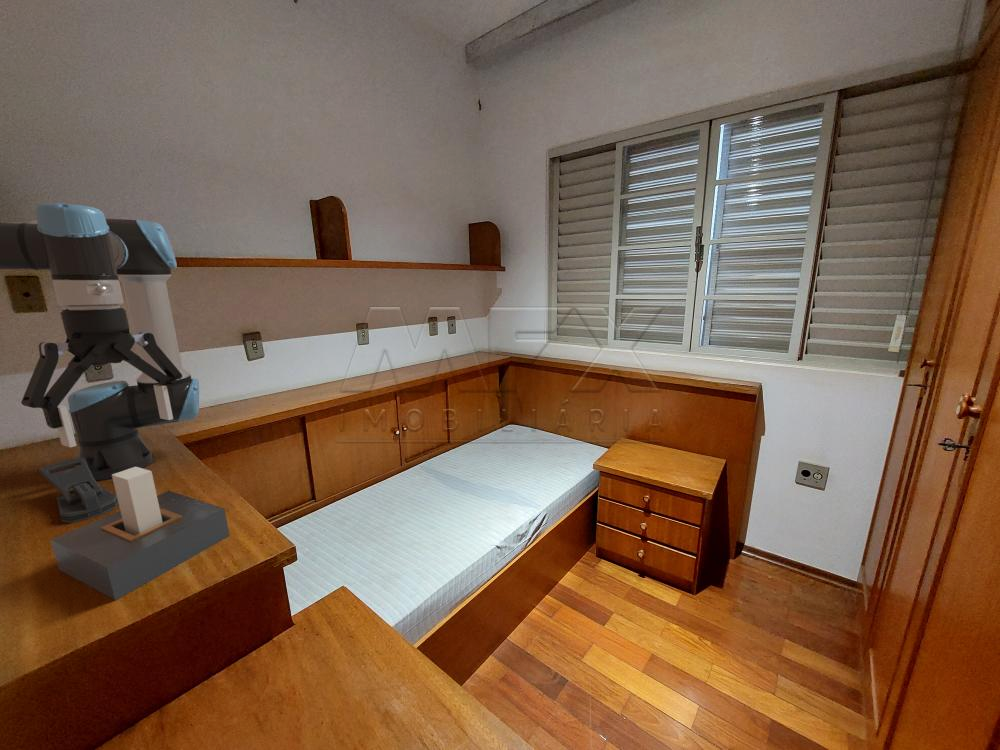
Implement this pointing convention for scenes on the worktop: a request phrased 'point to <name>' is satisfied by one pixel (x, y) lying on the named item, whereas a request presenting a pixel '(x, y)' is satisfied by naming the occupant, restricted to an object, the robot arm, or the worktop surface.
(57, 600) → the worktop surface
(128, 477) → the white rectangular bar
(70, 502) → the zipper slider
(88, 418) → the robot arm
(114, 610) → the worktop surface
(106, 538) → the block
